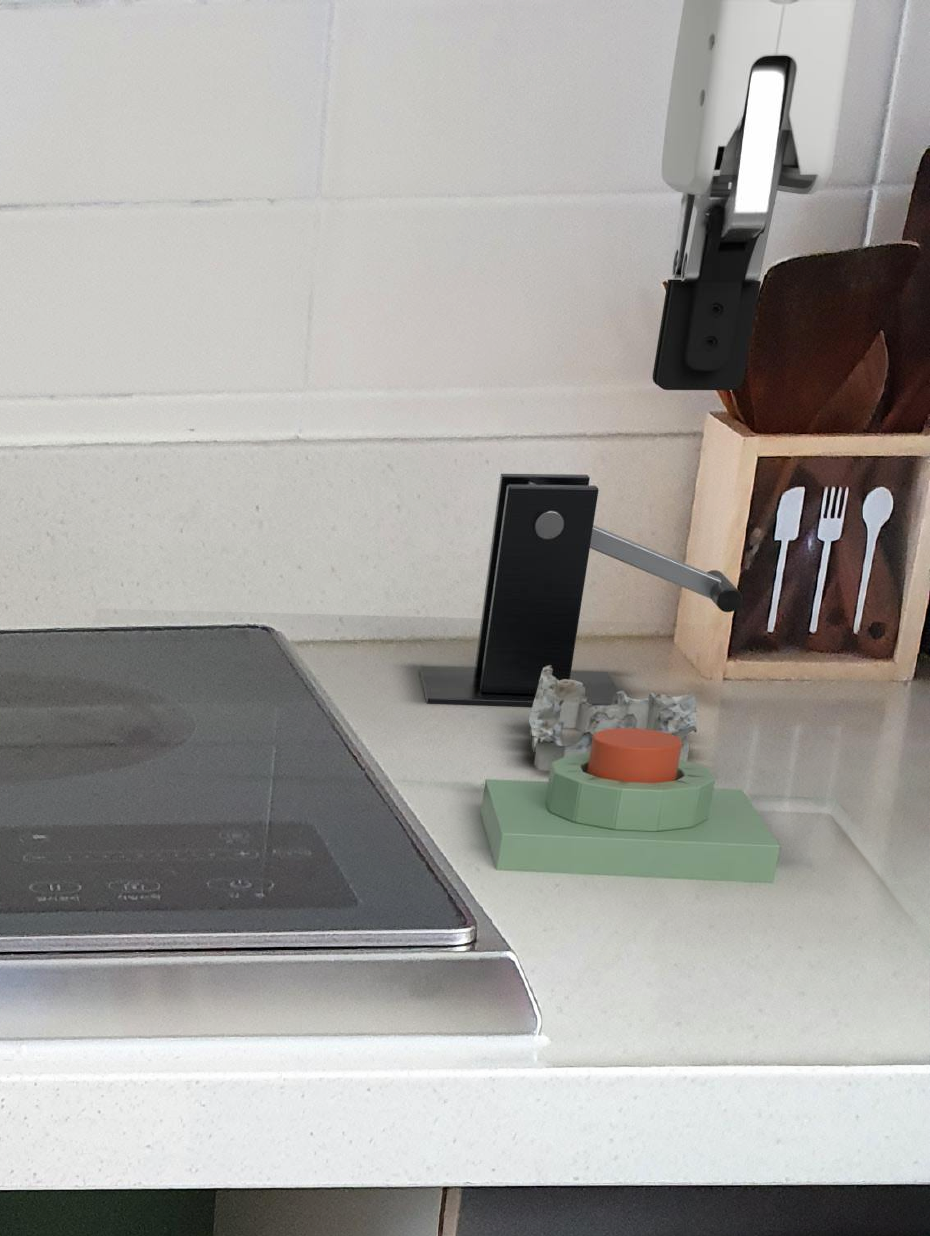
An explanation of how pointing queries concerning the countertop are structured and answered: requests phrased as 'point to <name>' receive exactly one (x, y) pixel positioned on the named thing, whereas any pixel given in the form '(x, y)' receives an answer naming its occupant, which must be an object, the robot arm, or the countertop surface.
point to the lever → (667, 568)
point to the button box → (627, 826)
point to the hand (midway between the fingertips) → (696, 386)
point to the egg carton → (600, 717)
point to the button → (634, 755)
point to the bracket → (529, 597)
